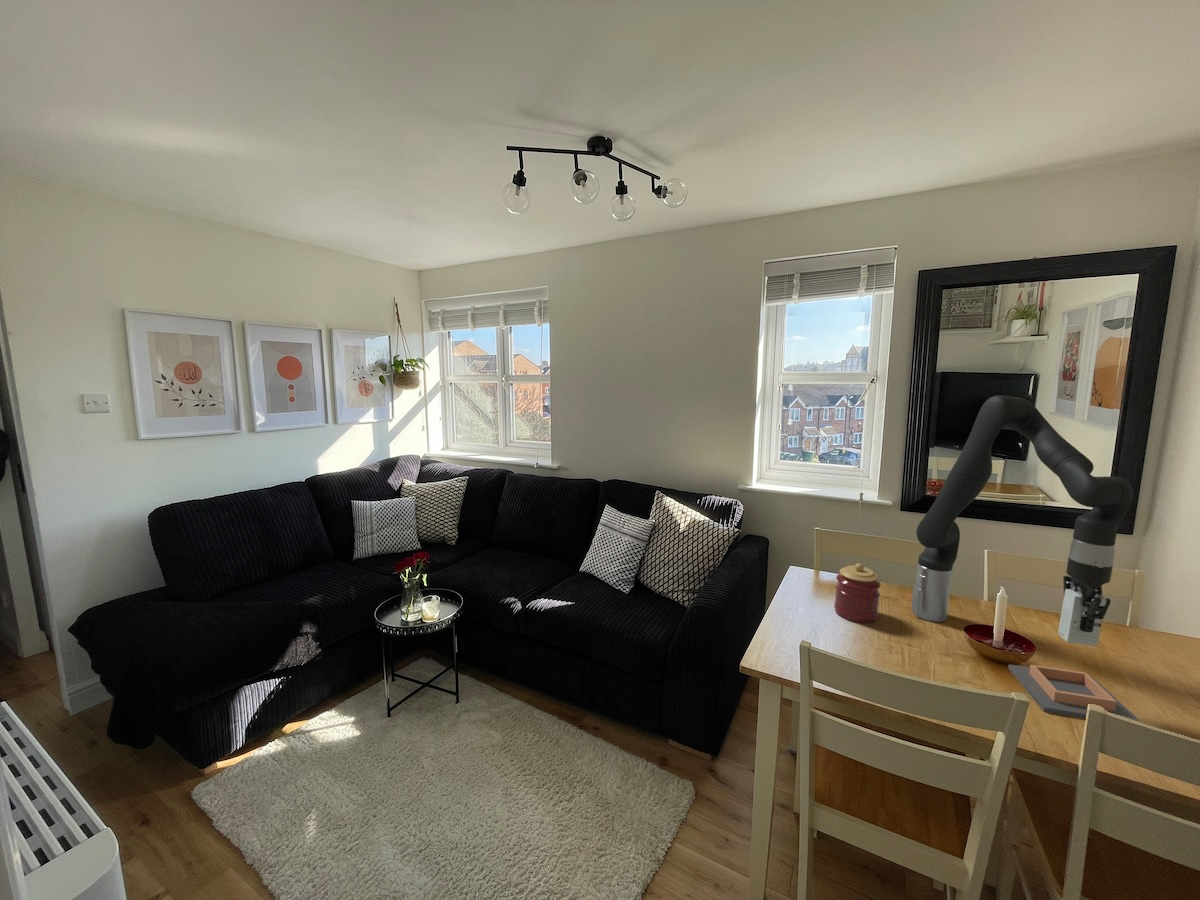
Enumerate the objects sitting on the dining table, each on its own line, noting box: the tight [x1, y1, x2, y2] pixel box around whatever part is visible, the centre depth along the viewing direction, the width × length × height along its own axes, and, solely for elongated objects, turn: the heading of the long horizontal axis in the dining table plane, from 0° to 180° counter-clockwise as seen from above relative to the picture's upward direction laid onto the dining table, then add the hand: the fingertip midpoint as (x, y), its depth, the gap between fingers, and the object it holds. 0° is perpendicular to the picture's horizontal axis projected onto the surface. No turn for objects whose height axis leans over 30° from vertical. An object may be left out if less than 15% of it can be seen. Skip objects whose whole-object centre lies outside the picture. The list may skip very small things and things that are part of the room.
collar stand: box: [1007, 663, 1142, 722], centre depth 121 cm, size 18×18×4 cm
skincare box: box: [1057, 589, 1103, 647], centre depth 118 cm, size 6×4×12 cm
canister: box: [833, 562, 881, 624], centre depth 162 cm, size 13×13×18 cm
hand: (1079, 625), depth 119 cm, fingers closed on skincare box, 4 cm apart
